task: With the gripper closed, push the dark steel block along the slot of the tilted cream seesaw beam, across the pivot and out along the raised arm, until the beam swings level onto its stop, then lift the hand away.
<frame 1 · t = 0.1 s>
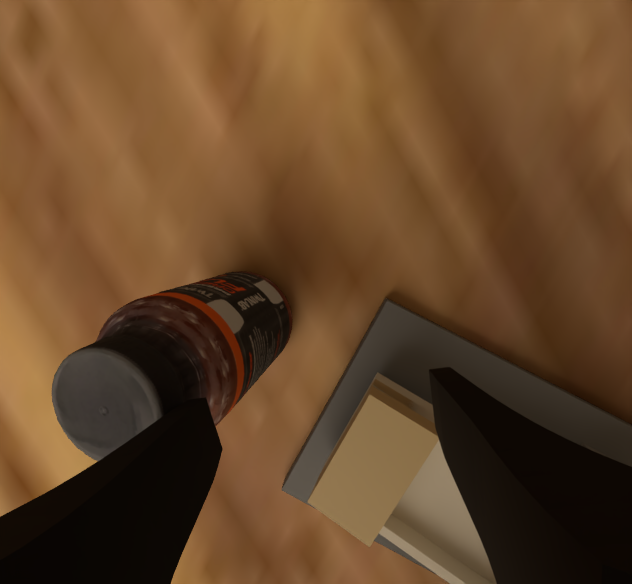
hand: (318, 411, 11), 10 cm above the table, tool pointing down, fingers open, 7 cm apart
supplement bottle: (249, 315, 21), on the table, touching gripper
stand: (547, 507, 21), on the table
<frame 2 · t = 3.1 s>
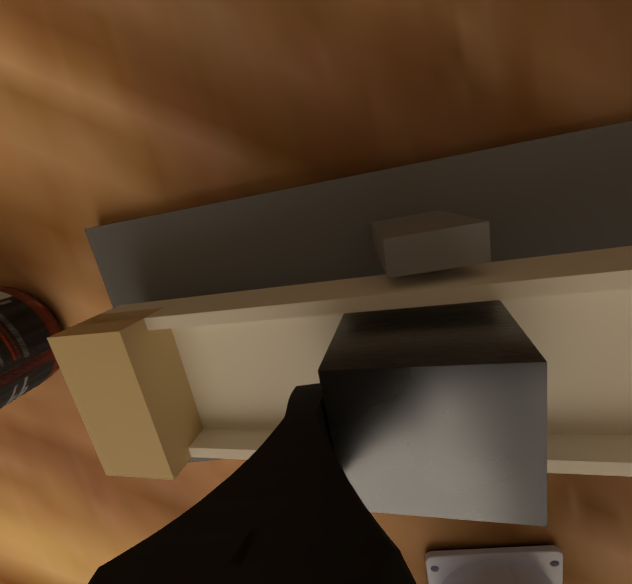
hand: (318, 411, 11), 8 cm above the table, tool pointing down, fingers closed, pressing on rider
supplement bottle: (25, 332, 20), on the table
stand: (412, 311, 17), on the table
rider: (423, 365, 12), point 6 cm above the table, tilted 9°, touching beam, gripper
beam: (439, 371, 12), point 6 cm above the table, hinge at -9.4°, touching rider
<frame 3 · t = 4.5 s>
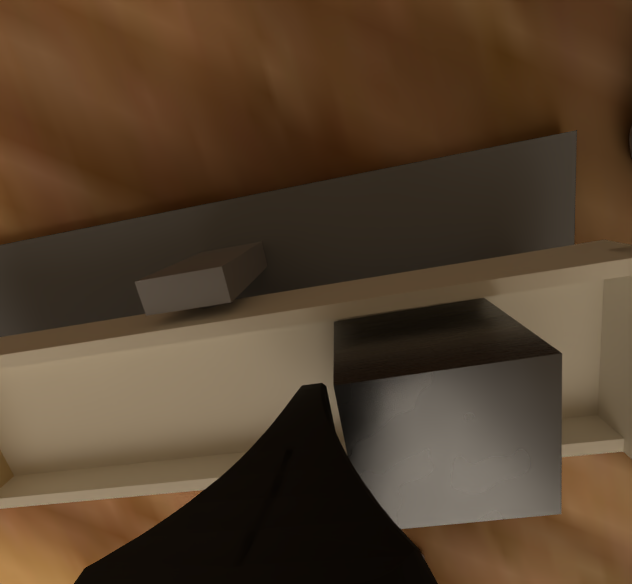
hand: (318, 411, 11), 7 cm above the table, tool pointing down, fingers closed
stand: (260, 333, 18), on the table
rider: (414, 369, 12), point 6 cm above the table, touching gripper
beam: (222, 397, 13), point 6 cm above the table, hinge at 0.6°
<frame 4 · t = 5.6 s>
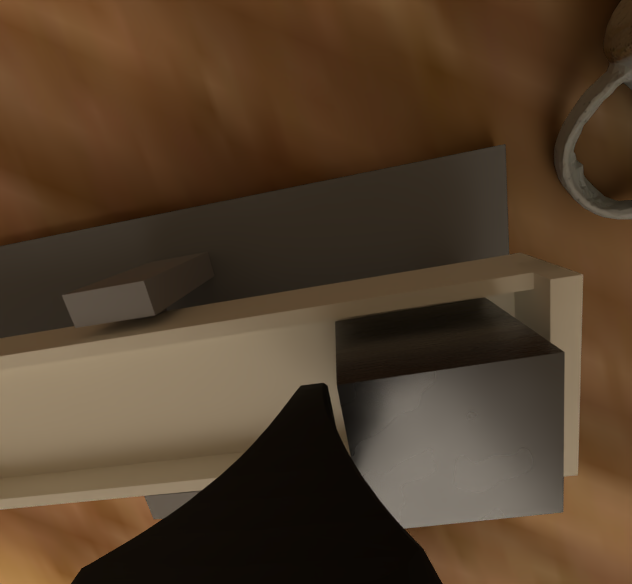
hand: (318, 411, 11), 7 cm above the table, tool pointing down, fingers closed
stand: (213, 340, 19), on the table
rider: (415, 368, 12), point 6 cm above the table, touching beam, gripper
beam: (156, 406, 13), point 6 cm above the table, hinge at 0.6°, touching rider
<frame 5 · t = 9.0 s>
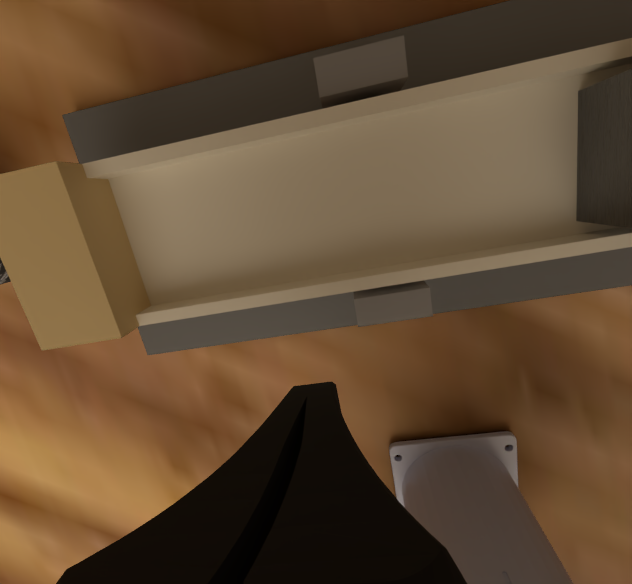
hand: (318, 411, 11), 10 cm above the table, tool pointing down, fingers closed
stand: (367, 195, 19), on the table
beam: (377, 198, 13), point 6 cm above the table, hinge at 0.6°, touching rider
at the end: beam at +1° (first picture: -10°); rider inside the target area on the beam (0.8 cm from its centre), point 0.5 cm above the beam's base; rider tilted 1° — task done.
